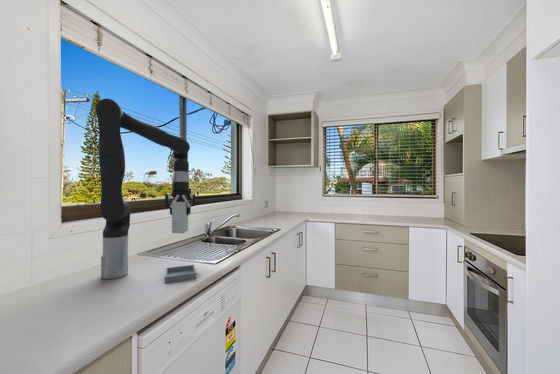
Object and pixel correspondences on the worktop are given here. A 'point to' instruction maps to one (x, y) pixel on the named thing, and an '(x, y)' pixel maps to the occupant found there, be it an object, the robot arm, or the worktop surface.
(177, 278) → the tray
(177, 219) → the skincare box
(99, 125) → the robot arm
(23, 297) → the worktop surface
